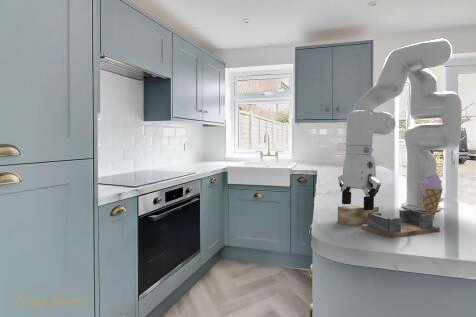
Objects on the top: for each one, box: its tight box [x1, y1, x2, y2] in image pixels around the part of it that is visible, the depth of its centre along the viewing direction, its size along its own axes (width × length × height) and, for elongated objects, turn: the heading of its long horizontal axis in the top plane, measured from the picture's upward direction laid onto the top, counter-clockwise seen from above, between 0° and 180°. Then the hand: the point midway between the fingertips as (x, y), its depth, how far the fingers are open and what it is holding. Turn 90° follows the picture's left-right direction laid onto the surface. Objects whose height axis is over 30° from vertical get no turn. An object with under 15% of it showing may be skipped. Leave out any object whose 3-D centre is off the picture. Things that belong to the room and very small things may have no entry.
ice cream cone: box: [419, 172, 443, 219], centre depth 98 cm, size 7×6×15 cm
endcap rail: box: [360, 208, 441, 239], centre depth 87 cm, size 18×10×4 cm, turn 110°
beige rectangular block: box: [337, 204, 380, 226], centre depth 95 cm, size 12×4×5 cm, turn 104°
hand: (356, 206), depth 95 cm, fingers open, 9 cm apart
